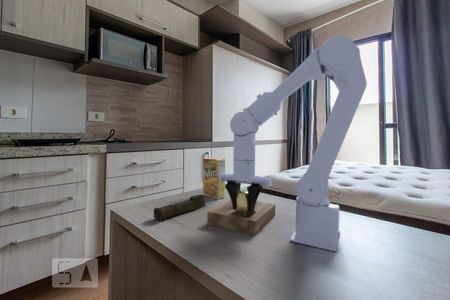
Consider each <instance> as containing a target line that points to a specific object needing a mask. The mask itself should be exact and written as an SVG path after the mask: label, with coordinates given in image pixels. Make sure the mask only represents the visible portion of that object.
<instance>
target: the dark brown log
mask: <svg viewBox="0 0 450 300" xmlns="http://www.w3.org/2000/svg"><path fill="white" fill-rule="evenodd" d="M205 206H206V198H205V196H204V195H203V193H202V194H196V195H192V196H190V197H189V199H186V200H183V201H179V202H177V203H173V204H168V205H165V206H161V207H154V208H153V218H154V220H155V221H158V222H161V221H162V220H164V221H165V220H166V219H167V218H171V217H173V216H177V215H180V214H183V213H185V212H188V211H197V210H200V209H201V208H203V207H205Z"/></svg>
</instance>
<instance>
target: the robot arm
mask: <svg viewBox="0 0 450 300" xmlns="http://www.w3.org/2000/svg"><path fill="white" fill-rule="evenodd" d="M323 75H324V76H325V77H326V78H328V79H329V80H331V81H332V82H333V84H334V86H335V87H336V89H337V90H338V94H337V96H336V100H335V102H334V104H333V107H332V109H331V111H330V113H329V117H328V119H327V121H326V123H325V126H324V129H323V132H322V134H321V136H320V138H319V142H318V144H317V147H316V148H315V152H314V154H313V157H312V159H311V161H310V163H309V165H308V167H307V169H306V172H305V173H304V174H303V175H302V177H301V178H299V180H297V182H296V185H295V193H296V195H297V196H296V197H295V228H294V229H295V231H294V232H293V234H292V236H291V237H290V242H293V243H298V244H301V245H306V246H310V247H316V248H320V249H323V250H329V251H332V252H337V251H338V244H339V240H340V238H341V230H340V205H339V204H335V203H331V202H330V199H329V198H328V196H327V195H328V188H329V177H330V175H331V172H332V169H333V166H334V164H335V162H336V160H337V158H338V154H340V153H339V152H340V150H341V148H342V145H343V143H344V140H345V138H346V136H347V134H348V132H349V128H350V126H351V124H352V121H353V119H354V117H355V114H356V113H357V110H358V108H359V105H360V103H361V100H362V98H363V97H364V93H365V91H366V89H367V79H366V75H365V71H364V66H363V63H362V58H361V50H360V48H359V47H358V46H357V45H356V43H354V41H353V40H352V39H351V38H350V37H348V36H346V35H343V34H338V35H333V36H330V37H329V38H328V39H326V40H325V41H324V42H323V43H322V45H321V46H318V47H316V48H315V49H314V50H313V51H312V52H311V53H310V54H309V56H307V57H306V58H305V60H303V62H301V64H300V65H298V66H297V68H295V69H294V71H293V72H291V73H290V75H288V76H287V77H286V78H285V79H283V81H282V82H281V83H280V84H279V85H278V86H277V87H276V88H275V89H274V90H273V91H264V92H263V93H258V95H256V99H255V101H253V102H252V103H251V104H250V105H249V106H248V107H244V108H243V109H242V111H243V112H242V111H238V112H236V113H234V115H233V116H232V118H231V120H230V122H229V125H230V126H229V127H230V128H229V129H230V130H231V132H232V133H233V151H232V152H233V155H232V156H233V159H232V160H233V162H232V163H233V165H232V166H233V169H232V171H233V173H225V174H223V173H222V174H219V181H225V182H226V183H225V190H226V191H227V193H228V195H229V198H230V200H231V201H232V205H233V210H236V191H238V190H240V188H241V185H242V184H244V185H246V184H247V186H246V188H247V191H248V198H249V208H248V209H249V213H252V212H254V209H255V204H256V201H257V200H258V198H259V196H260V193H261V191H262V189H263V187H266V188H270V187H271V186H272V184H273V181H272V180H273V179H272V178H271V177H265V176H259V175H256V134H257V132H258V131H259V128H260V127H261V126H262V125H263V124H265V123H266V122H267V121H268V120H269V119H271V118H272V117H273V116H274V115H276V114H277V113H278V112H279V111H280V110H281V107H282V106H281V105H282V102H283V101H285V100H286V99H288V97H290V96H291V95H292V94H294V93H296V91H298V90H299V89H300V88H301V87H303V86H304V85H306V84H307V83H308V82H309V81H316V80H323V79H324V78H323ZM257 202H258V201H257Z"/></svg>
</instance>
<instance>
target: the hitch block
mask: <svg viewBox="0 0 450 300" xmlns="http://www.w3.org/2000/svg"><path fill="white" fill-rule="evenodd" d="M206 214H207V215H206V217H207V219H206V220H207V221H206V223H207V225H208V226H212V227H213V226H214V227H217V228H222V229H226V230H231V231H235V232H239V233H243V234H248V235H252V236H257V235H258V234H259V232H261V230H263V228H265V227H266V225H268V224H269V223H270V221H271V220H273V218H275V216H276V203H270V202H262V201H256V204H255V209H254V212H252V213H251V217H250V218H246V217H241V216H236V210H233V205H232V201H231V199H229V200H227V201H225V202H223V203H222V204H220V205H217V206H216V207H214V208H211V209H209V210H208V211H207V213H206Z"/></svg>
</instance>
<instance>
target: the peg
mask: <svg viewBox="0 0 450 300" xmlns="http://www.w3.org/2000/svg"><path fill="white" fill-rule="evenodd" d="M248 208H249V198H248V191H247V190H238V191H236V216H241V217H246V218H250V217H251V213H249V209H248Z"/></svg>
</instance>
